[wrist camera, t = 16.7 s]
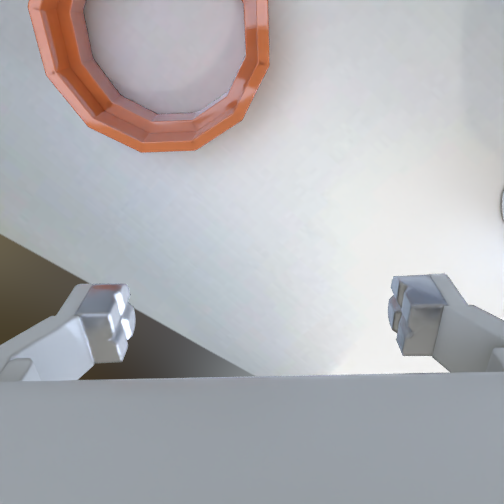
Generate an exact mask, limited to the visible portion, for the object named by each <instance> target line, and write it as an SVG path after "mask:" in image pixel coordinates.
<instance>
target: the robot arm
mask: <svg viewBox="0 0 504 504" xmlns="http://www.w3.org/2000/svg"><path fill="white" fill-rule="evenodd" d="M502 215H503V219H504V192H503V197H502ZM391 289H392V291H393V294H394V295H393V296H392V297H391V298H390V299H389V305H388V318H389V322H390V325H391V328H392V330H393V331H395V332H396V333H397V339H396V340H397V343H398V345H399V348H400V350H401V353H402V355H403V356H432V357H433V358H434V359H435V360H436V361H437V362H439V363H440V364H441V365H442V366H443V367H445V368H446V369H447V370H448V371H449V372H451V373H406V374H357V375H309V376H260V377H212V378H165V379H164V378H162V379H112V380H78V379H79V378H80V377H81V376H82V375H83V374H84V373H85V372H87V371H88V370H89V369H90V368H91V367H92V366H93V365H94V363H110V362H122V361H123V358H124V356H125V353H126V351H127V348H128V343H127V339H129V338H130V337H131V336H132V335H133V332H134V329H135V311H134V306H132V305H131V304H130V303H129V302H128V300H129V298H130V296H131V294H130V290H129V286H128V285H127V284H79V285H76V286H75V287H74V289H73V291H72V292H71V294H70V295H69V297H68V298H67V300H66V301H65V303H64V304H63V306H62V307H61V309H60V310H59V312H58V313H57V315H56V316H50V317H49V318H47V319H46V320H43V321H42V322H40V323H38V324H36V325H35V326H33V327H31V328H29V329H28V330H26V331H25V332H23V333H21V334H19V335H17V336H16V337H14V338H12V339H11V340H9V341H7V342H5V343H3V344H2V345H1V346H0V504H504V320H502V319H500V318H498V317H496V316H494V315H492V314H490V313H488V312H486V311H484V310H482V309H480V308H478V307H476V306H474V305H468V304H467V303H466V301H465V300H464V298H463V297H462V295H461V294H460V293H459V291H458V290H457V288H456V287H455V286H454V284H453V283H452V281H451V280H450V278H449V277H448V276H447V275H446V274H427V275H412V276H394V277H393V279H392V284H391Z"/></svg>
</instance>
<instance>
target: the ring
mask: <svg viewBox="0 0 504 504" xmlns="http://www.w3.org/2000/svg"><path fill="white" fill-rule="evenodd" d="M242 2H243V3H244V24H245V46H246V55H245V57H244V59H243V61H242V63H241V65H240V67H239V70H238V72H237V74H236V76H235V78H234V80H233V82H232V85H231V87H230V89H229V91H227V92H226V93H225V94H223V95H222V96H220V97H219V98H217V99H216V100H214V101H213V102H211V103H210V104H208V105H207V106H205V107H204V108H203V109H201V110H200V111H198V112H197V113H177V114H156V113H154V112H152V111H150V110H149V109H147V108H145V107H143V106H141V105H139V104H137V103H135V102H133V101H131V100H129V99H127V98H125V97H123V96H121V95H120V94H119V92H118V91H117V90H116V88H115V87H114V86H113V84H112V83H111V82H110V80H109V79H108V78H107V76H106V75H105V74H104V72H103V71H102V70H101V68H100V67H99V66H98V64H97V63H96V62H95V60H94V59H93V55H92V51H91V46H90V41H89V37H88V32H87V27H86V23H85V18H84V13H83V10H84V6H85V3H86V0H29V2H28V10H29V14H30V17H31V21H32V25H33V28H34V32H35V36H36V40H37V43H38V47H39V51H40V54H41V58H42V62H43V65H44V69H45V73H46V76H47V77H48V78H49V80H50V81H51V82H52V83H53V84H54V86H55V87H56V88H57V89H58V91H59V92H60V93H61V94H62V95H63V97H64V98H65V99H66V100H67V102H68V103H69V104H70V105H71V106H72V108H73V109H74V110H75V111H76V113H77V114H78V115H79V116H80V117H81V119H82V120H83V121H84V122H85V124H86V125H87V126H88V127H90V128H92V129H94V130H96V131H98V132H100V133H102V134H104V135H106V136H108V137H110V138H112V139H114V140H116V141H118V142H121V143H123V144H125V145H127V146H129V147H131V148H133V149H135V150H137V151H139V152H168V151H194V150H197V149H199V148H200V147H202V146H203V145H205V144H207V143H208V142H210V141H211V140H213V139H214V138H216V137H217V136H219V135H220V134H222V133H223V132H225V131H226V130H228V129H230V128H231V127H233V126H234V125H236V124H237V123H239V122H240V121H242V120H243V118H244V116H245V114H246V112H247V110H248V108H249V106H250V104H251V102H252V100H253V98H254V96H255V94H256V92H257V90H258V88H259V86H260V84H261V82H262V80H263V78H264V76H265V74H266V72H267V70H268V68H269V65H270V63H269V15H268V0H242Z"/></svg>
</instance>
